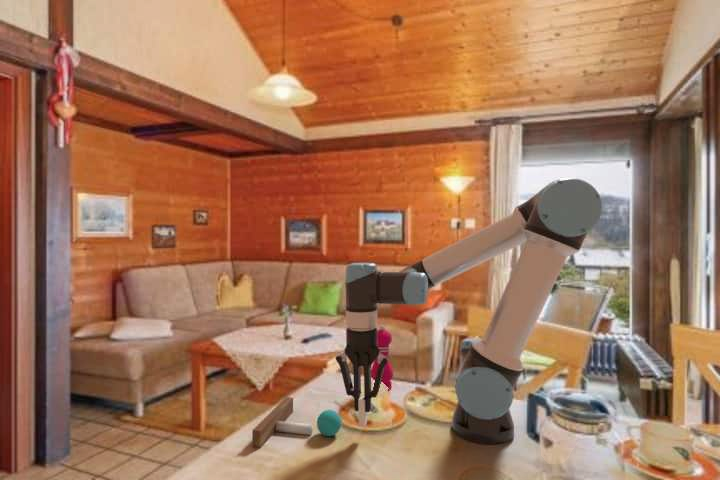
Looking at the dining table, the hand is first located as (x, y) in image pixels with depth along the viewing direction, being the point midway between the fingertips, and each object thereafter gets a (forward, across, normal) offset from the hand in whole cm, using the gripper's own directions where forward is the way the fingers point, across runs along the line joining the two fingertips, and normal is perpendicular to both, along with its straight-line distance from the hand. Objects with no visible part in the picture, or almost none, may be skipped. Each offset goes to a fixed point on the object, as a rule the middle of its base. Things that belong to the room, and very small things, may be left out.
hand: (363, 424), depth 105 cm
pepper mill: (+4, +2, -34) cm, 34 cm away
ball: (+1, +9, 0) cm, 9 cm away
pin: (+2, +13, +1) cm, 13 cm away
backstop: (+3, +23, 0) cm, 23 cm away
